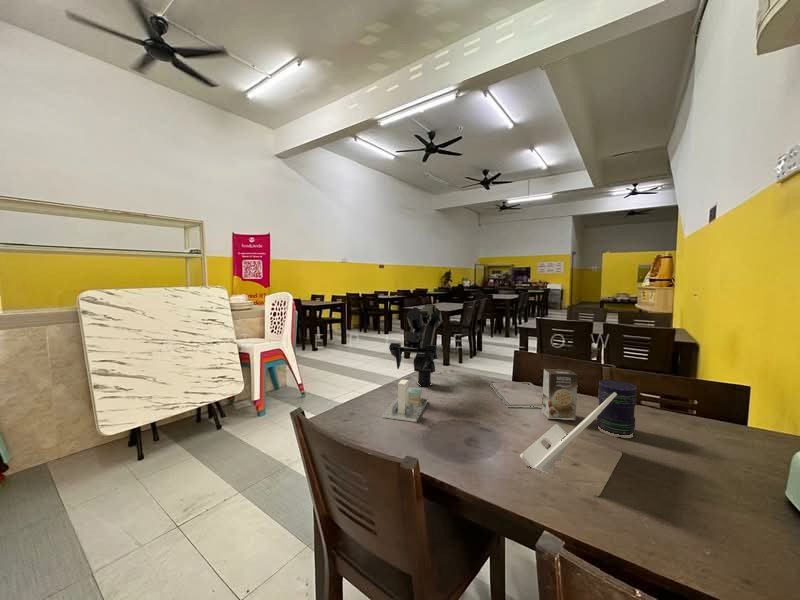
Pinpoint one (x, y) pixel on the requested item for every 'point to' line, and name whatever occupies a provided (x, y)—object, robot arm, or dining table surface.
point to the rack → (411, 412)
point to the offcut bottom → (414, 399)
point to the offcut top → (414, 392)
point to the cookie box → (559, 393)
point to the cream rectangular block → (402, 396)
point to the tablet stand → (557, 442)
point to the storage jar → (617, 407)
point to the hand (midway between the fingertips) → (409, 369)
